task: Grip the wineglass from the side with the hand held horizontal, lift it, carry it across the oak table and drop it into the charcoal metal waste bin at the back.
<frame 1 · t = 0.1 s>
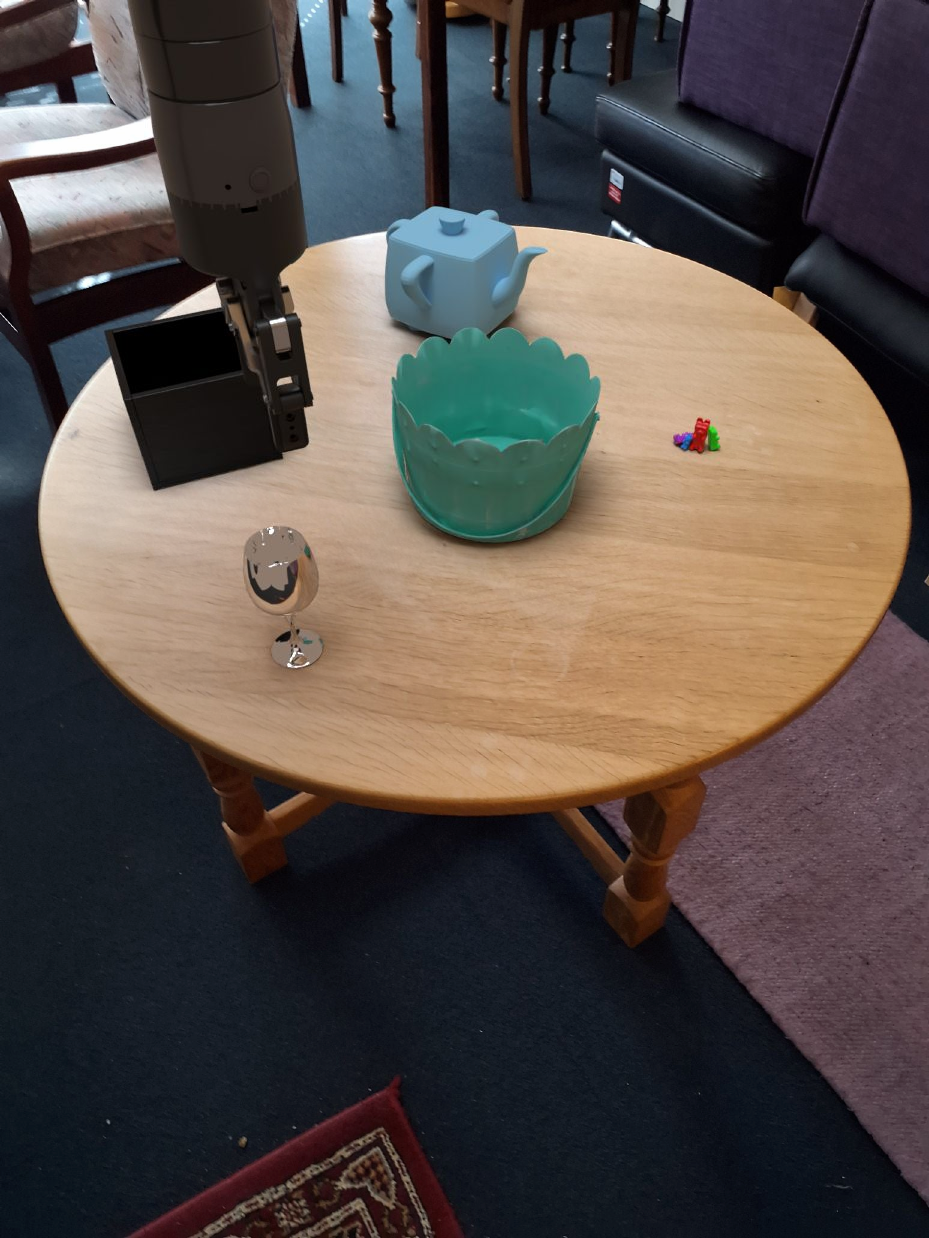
hand: (276, 413, 62), 22 cm above the table, tool pointing down, fingers open, 8 cm apart
basket: (491, 490, 91), on the table
waste bin: (206, 438, 97), on the table
gummy bear: (695, 448, 96), on the table
teapot: (464, 325, 113), on the table
wineglass: (297, 650, 77), on the table
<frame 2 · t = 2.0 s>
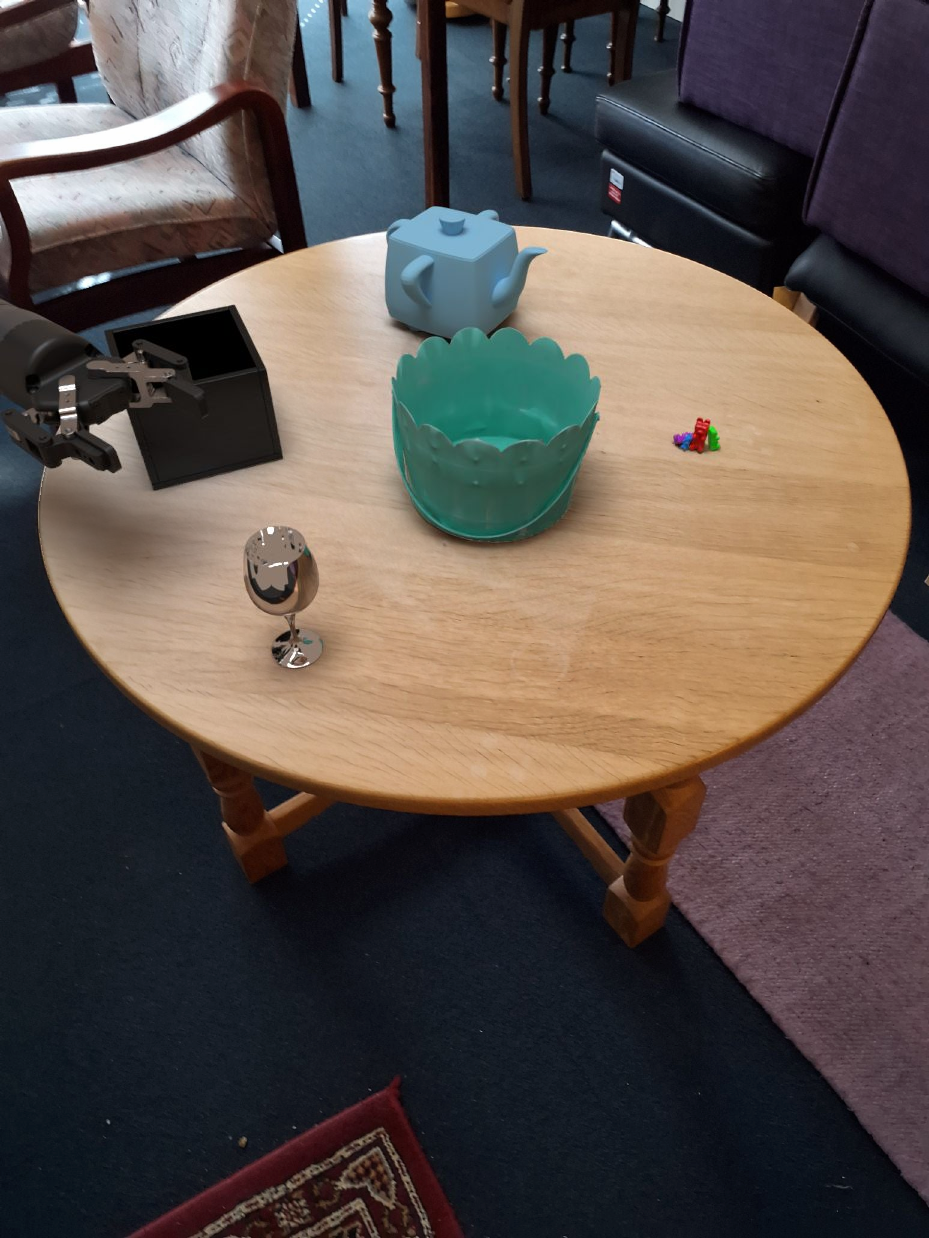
hand: (161, 433, 68), 17 cm above the table, tool horizontal, fingers open, 8 cm apart
nothing on the table moved.
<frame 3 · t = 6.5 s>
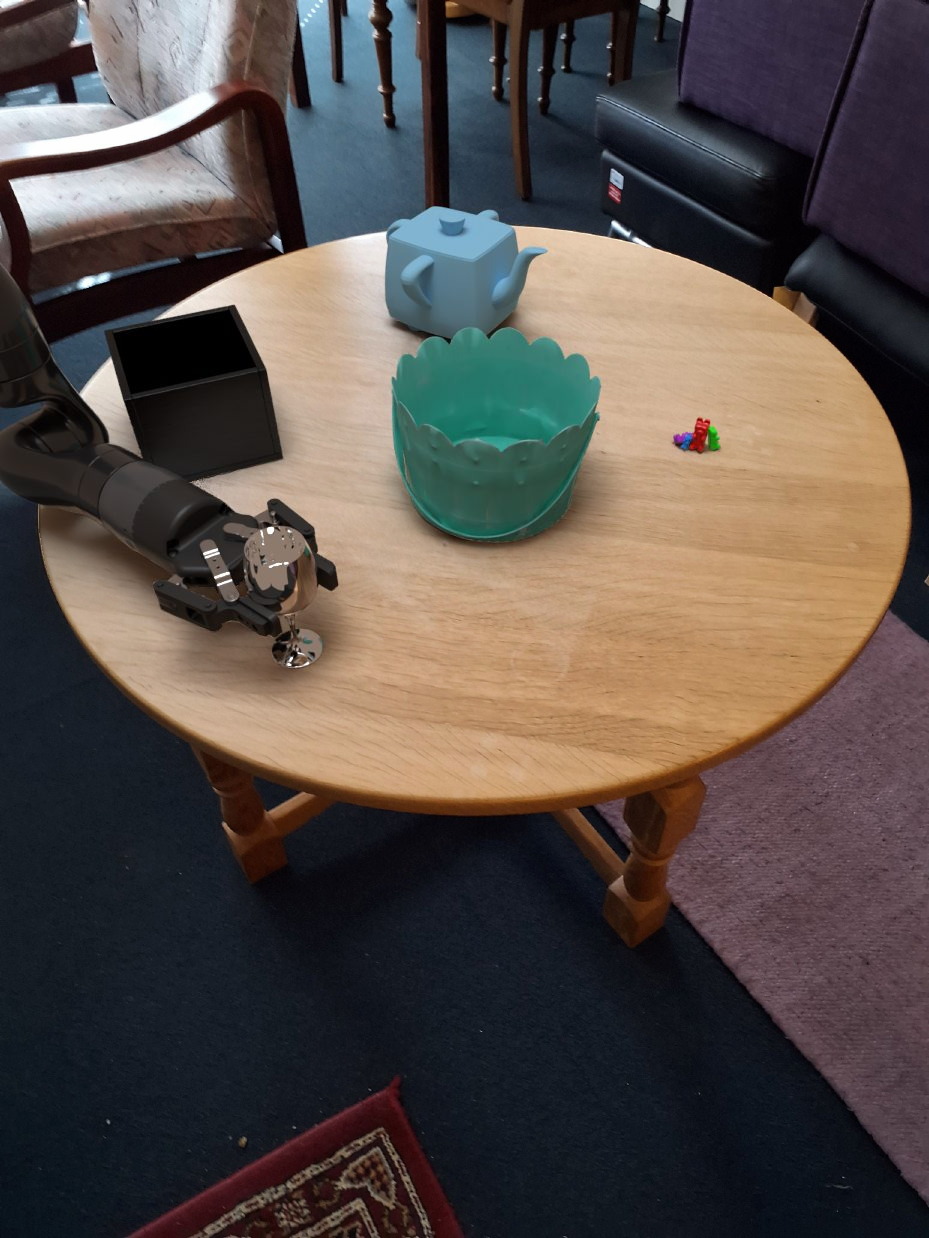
hand: (306, 603, 70), 7 cm above the table, tool horizontal, fingers closed on wineglass, 5 cm apart
wineglass: (297, 650, 77), on the table, touching gripper
everything else where it was.
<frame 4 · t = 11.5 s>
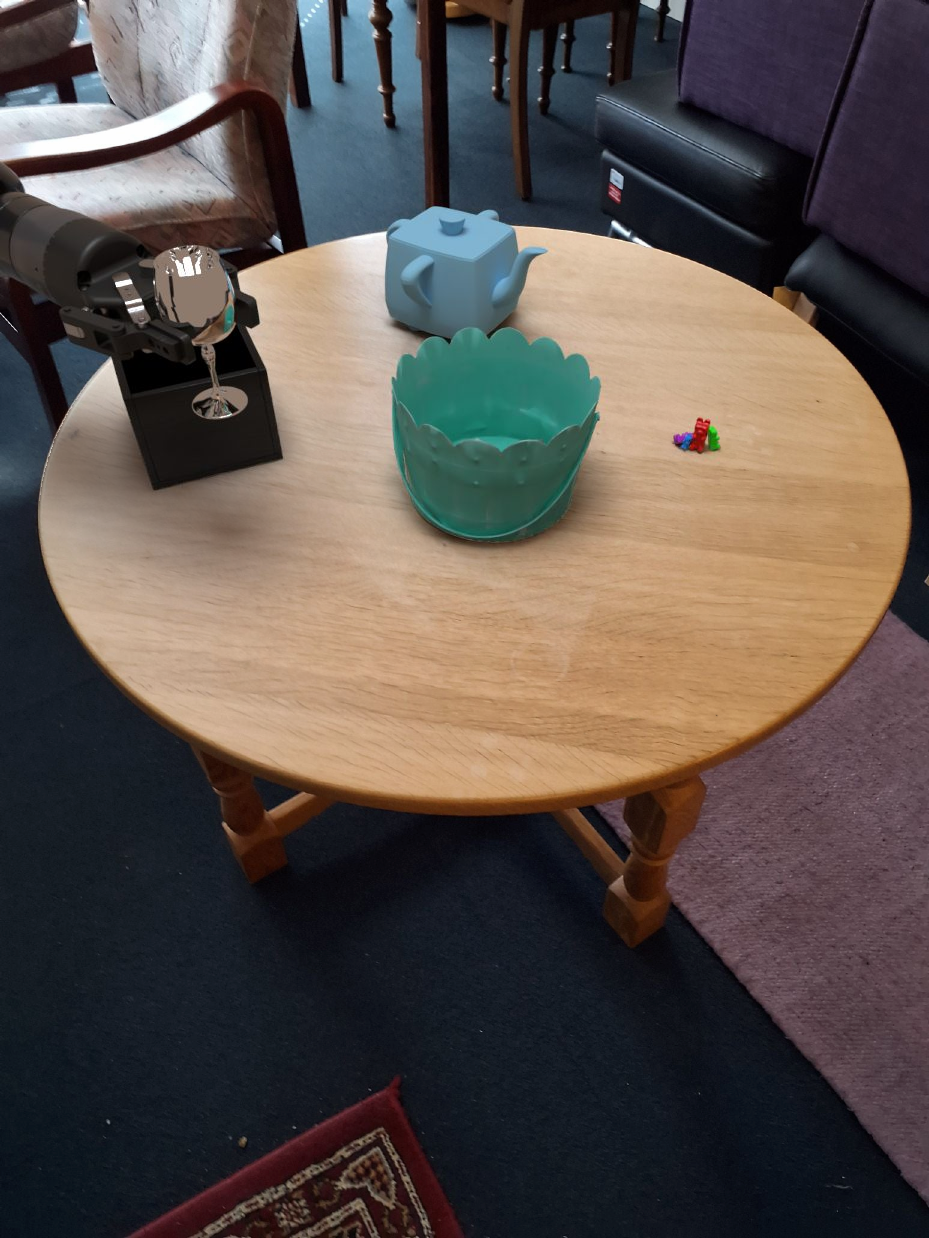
hand: (223, 332, 66), 24 cm above the table, tool horizontal, fingers closed on wineglass, 5 cm apart
wineglass: (220, 405, 73), point 16 cm above the table, touching gripper
everything else where it was.
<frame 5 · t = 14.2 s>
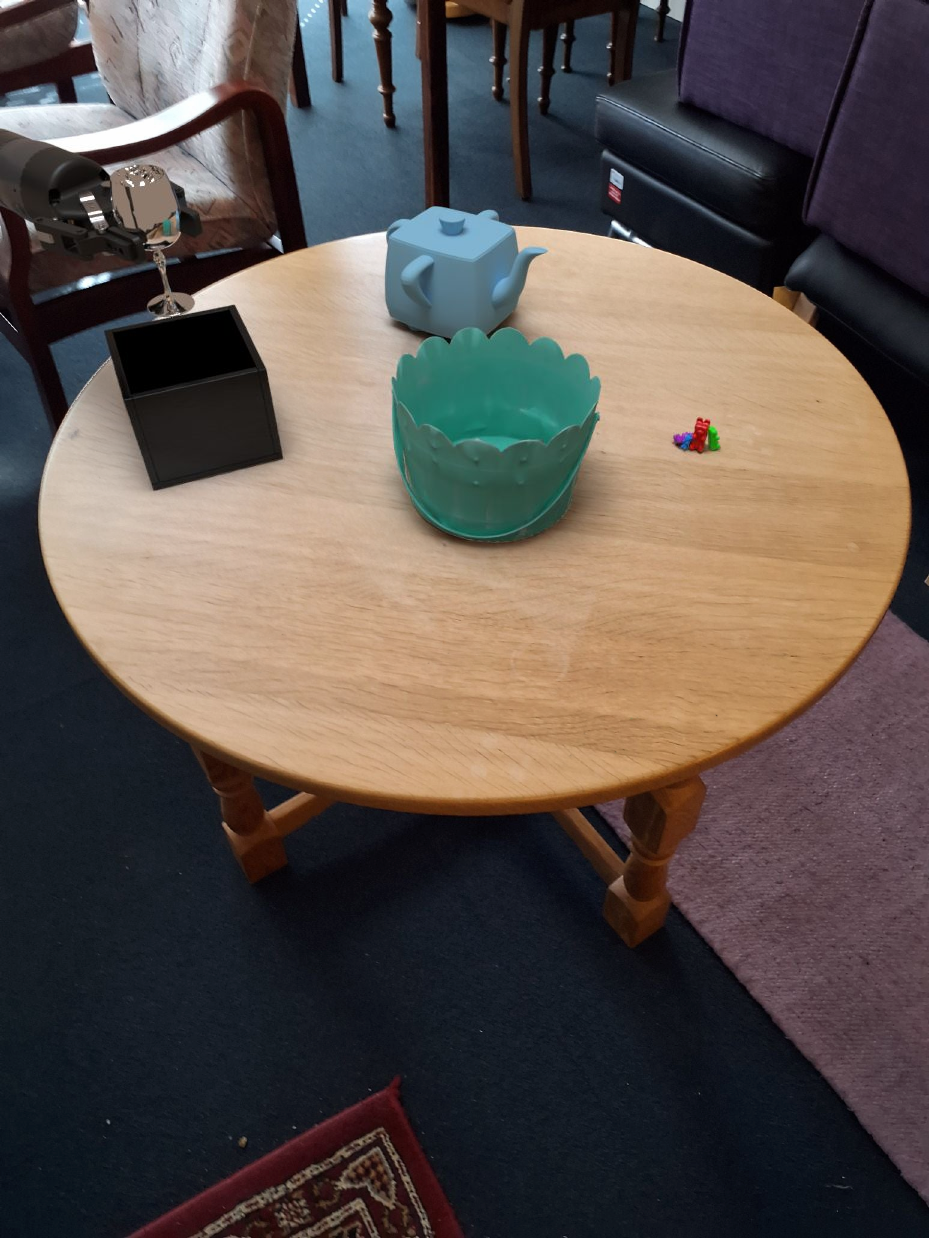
hand: (170, 238, 79), 23 cm above the table, tool horizontal, fingers closed on wineglass, 5 cm apart
wineglass: (171, 307, 86), point 15 cm above the table, touching gripper
everything else where it was.
when the fingers open (17 cm above the table, at t = 16.4 s): wineglass drops 8 cm, resting on waste bin.
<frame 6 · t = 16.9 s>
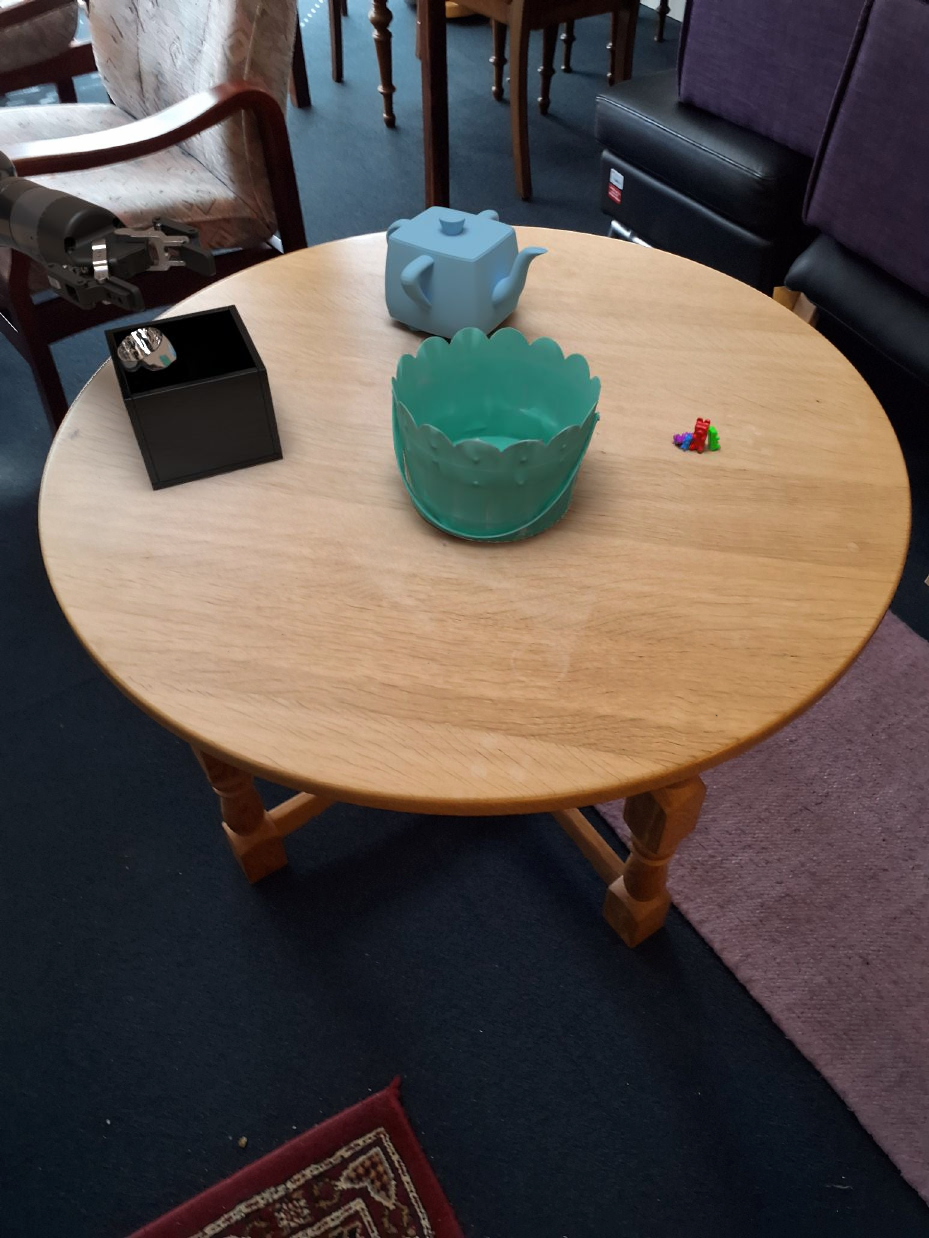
hand: (177, 282, 83), 18 cm above the table, tool horizontal, fingers open, 8 cm apart
wineglass: (198, 430, 96), point 1 cm above the table, touching waste bin
everything else where it was.
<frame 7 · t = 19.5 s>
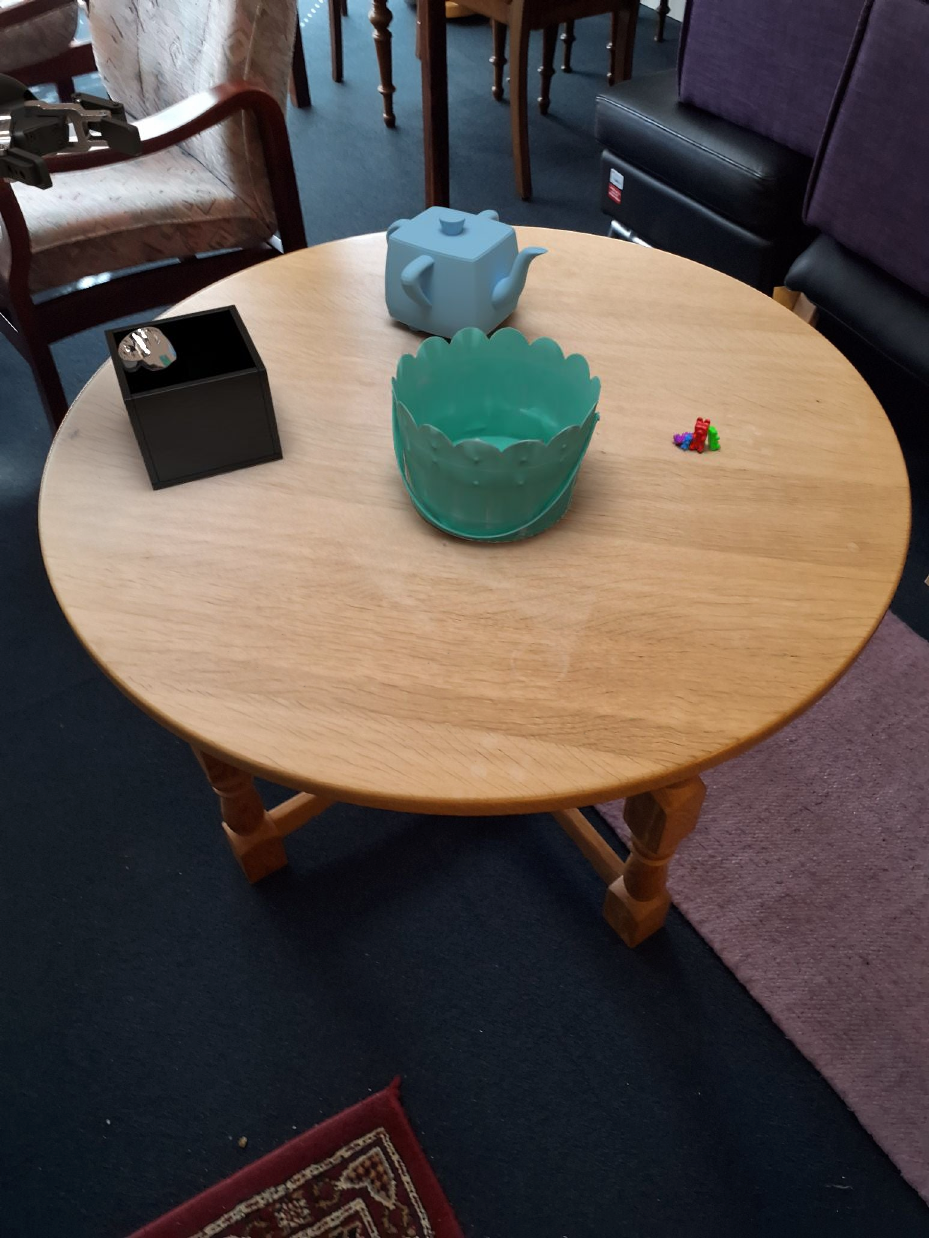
hand: (92, 158, 70), 31 cm above the table, tool horizontal, fingers open, 8 cm apart
nothing on the table moved.
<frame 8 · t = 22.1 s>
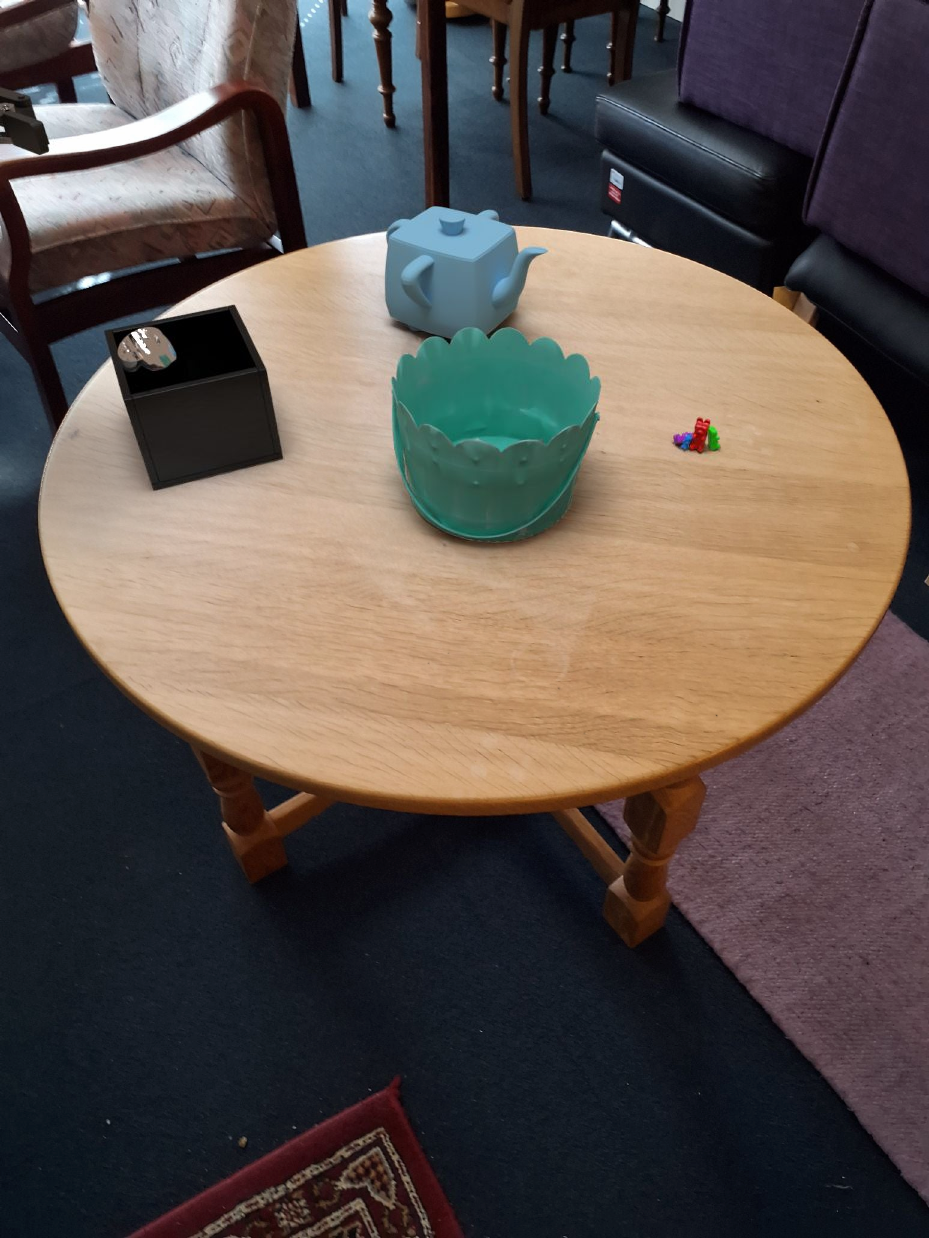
nothing on the table moved.
at the end: wineglass inside the target area in the waste bin (0.6 cm from its centre), point 1.2 cm above the waste bin's base; the gripper is holding nothing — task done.
